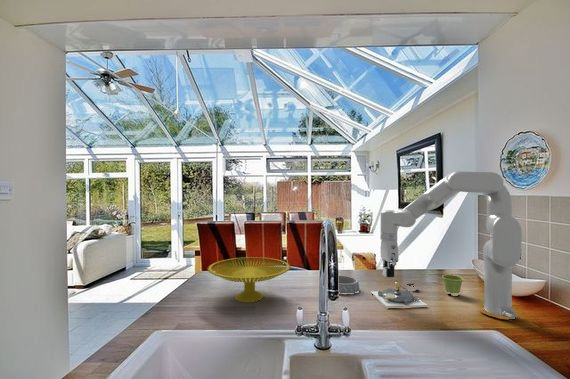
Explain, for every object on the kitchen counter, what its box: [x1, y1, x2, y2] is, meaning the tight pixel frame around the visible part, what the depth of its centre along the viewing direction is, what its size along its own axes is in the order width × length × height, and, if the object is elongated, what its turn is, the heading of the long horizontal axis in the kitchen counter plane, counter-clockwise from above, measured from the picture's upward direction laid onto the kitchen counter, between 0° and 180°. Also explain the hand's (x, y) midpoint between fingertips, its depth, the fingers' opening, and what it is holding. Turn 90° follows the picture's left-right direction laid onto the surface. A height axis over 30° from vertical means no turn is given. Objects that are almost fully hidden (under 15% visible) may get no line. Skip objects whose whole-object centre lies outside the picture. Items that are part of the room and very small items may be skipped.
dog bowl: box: [338, 274, 361, 293], centre depth 159 cm, size 17×18×5 cm
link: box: [382, 266, 396, 278], centre depth 142 cm, size 4×4×4 cm
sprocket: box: [377, 281, 419, 304], centre depth 143 cm, size 18×17×6 cm
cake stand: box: [207, 256, 292, 303], centre depth 147 cm, size 40×40×15 cm
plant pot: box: [441, 274, 464, 293], centre depth 151 cm, size 9×9×9 cm
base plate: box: [370, 290, 428, 308], centre depth 143 cm, size 19×19×1 cm
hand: (388, 275), depth 142 cm, fingers closed on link, 4 cm apart
